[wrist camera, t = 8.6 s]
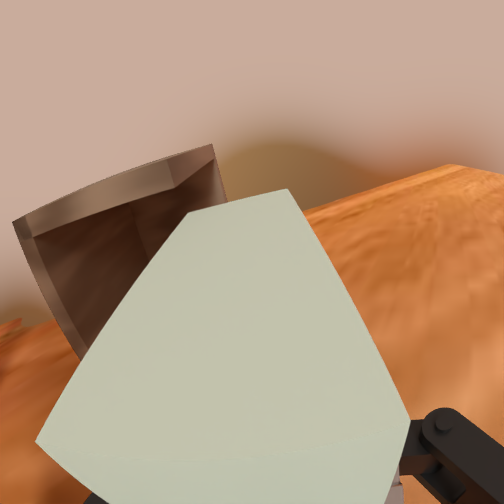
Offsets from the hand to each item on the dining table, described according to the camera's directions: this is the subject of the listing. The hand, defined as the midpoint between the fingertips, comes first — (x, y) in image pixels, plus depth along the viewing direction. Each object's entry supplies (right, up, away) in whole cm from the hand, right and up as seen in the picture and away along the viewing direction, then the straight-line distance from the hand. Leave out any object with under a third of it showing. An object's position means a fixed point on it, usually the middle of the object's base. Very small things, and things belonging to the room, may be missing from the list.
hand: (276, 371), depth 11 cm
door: (+2, -8, 0) cm, 8 cm away
